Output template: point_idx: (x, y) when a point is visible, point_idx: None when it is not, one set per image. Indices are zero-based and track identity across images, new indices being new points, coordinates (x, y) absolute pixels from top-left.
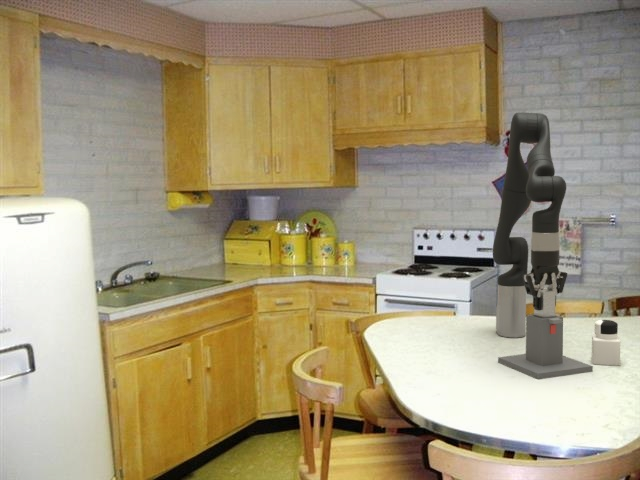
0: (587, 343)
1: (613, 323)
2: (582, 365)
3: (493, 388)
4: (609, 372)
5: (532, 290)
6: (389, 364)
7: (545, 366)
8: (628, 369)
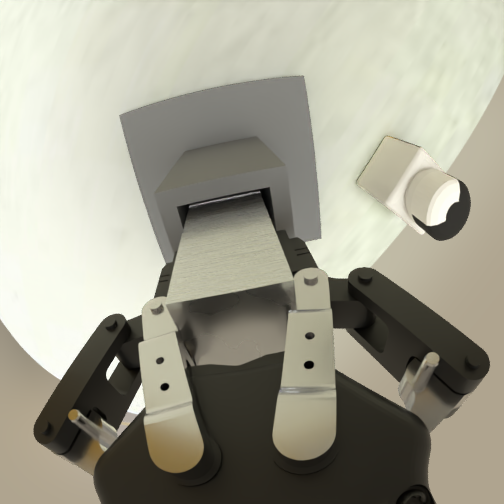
0: (439, 34)
1: (451, 236)
2: (302, 230)
3: (80, 292)
4: (343, 245)
5: (125, 381)
6: None
7: None
8: (388, 234)
